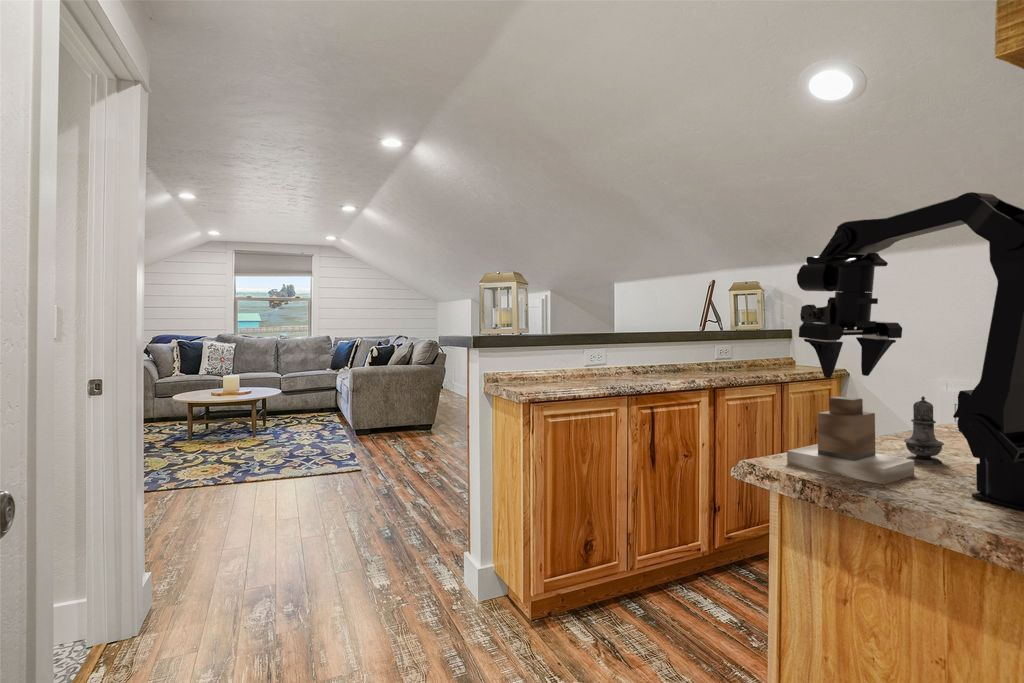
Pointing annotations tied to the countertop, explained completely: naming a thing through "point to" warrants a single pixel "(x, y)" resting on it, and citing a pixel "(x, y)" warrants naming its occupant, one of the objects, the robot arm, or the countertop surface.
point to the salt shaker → (923, 435)
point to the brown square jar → (846, 430)
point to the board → (853, 465)
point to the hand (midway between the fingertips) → (846, 376)
